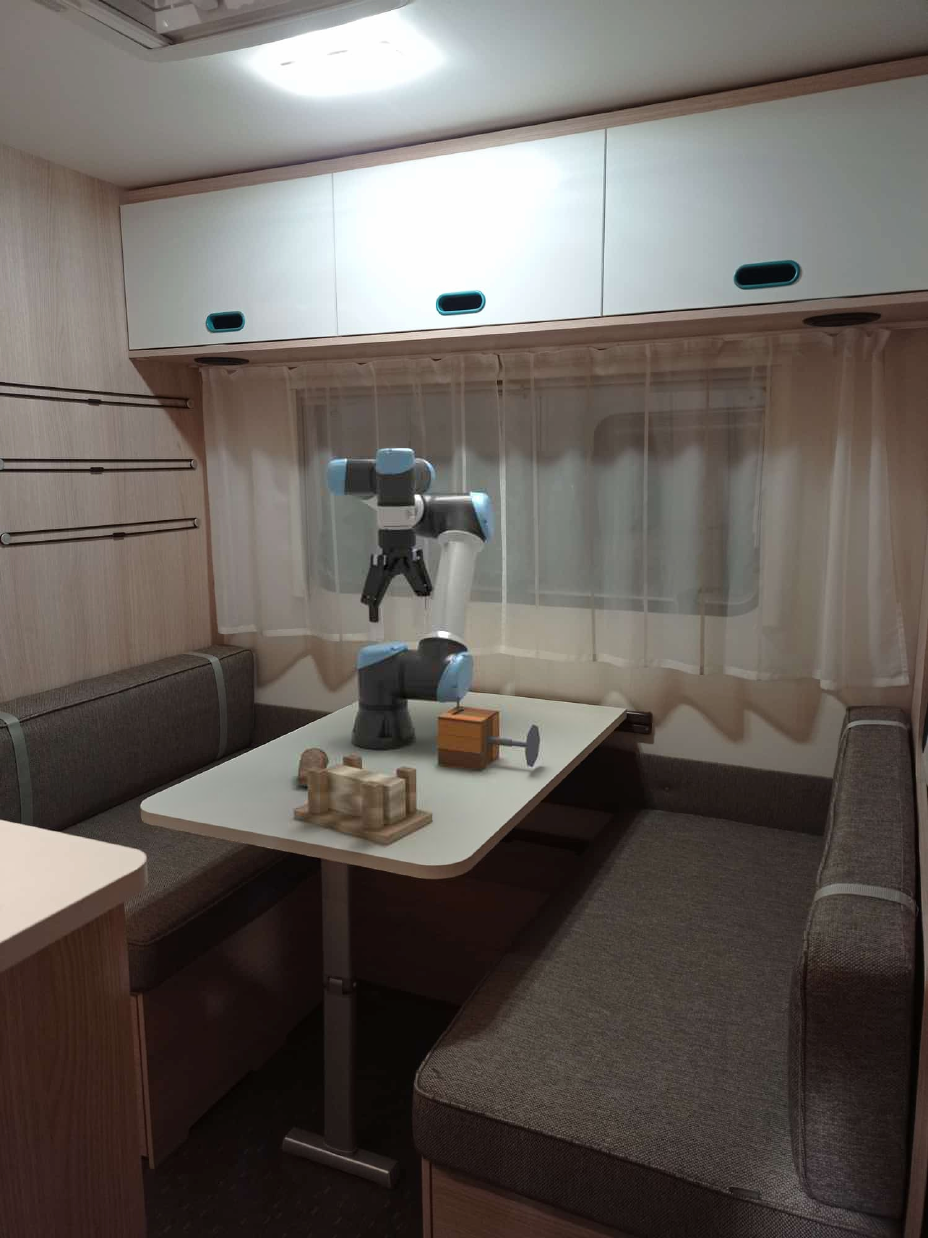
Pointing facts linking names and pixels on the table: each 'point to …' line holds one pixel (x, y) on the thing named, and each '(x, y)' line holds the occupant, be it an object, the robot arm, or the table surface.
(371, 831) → the wooden block assembly
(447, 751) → the wooden box with plunger
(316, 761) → the pipe
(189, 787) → the table surface
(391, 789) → the cream wooden block
